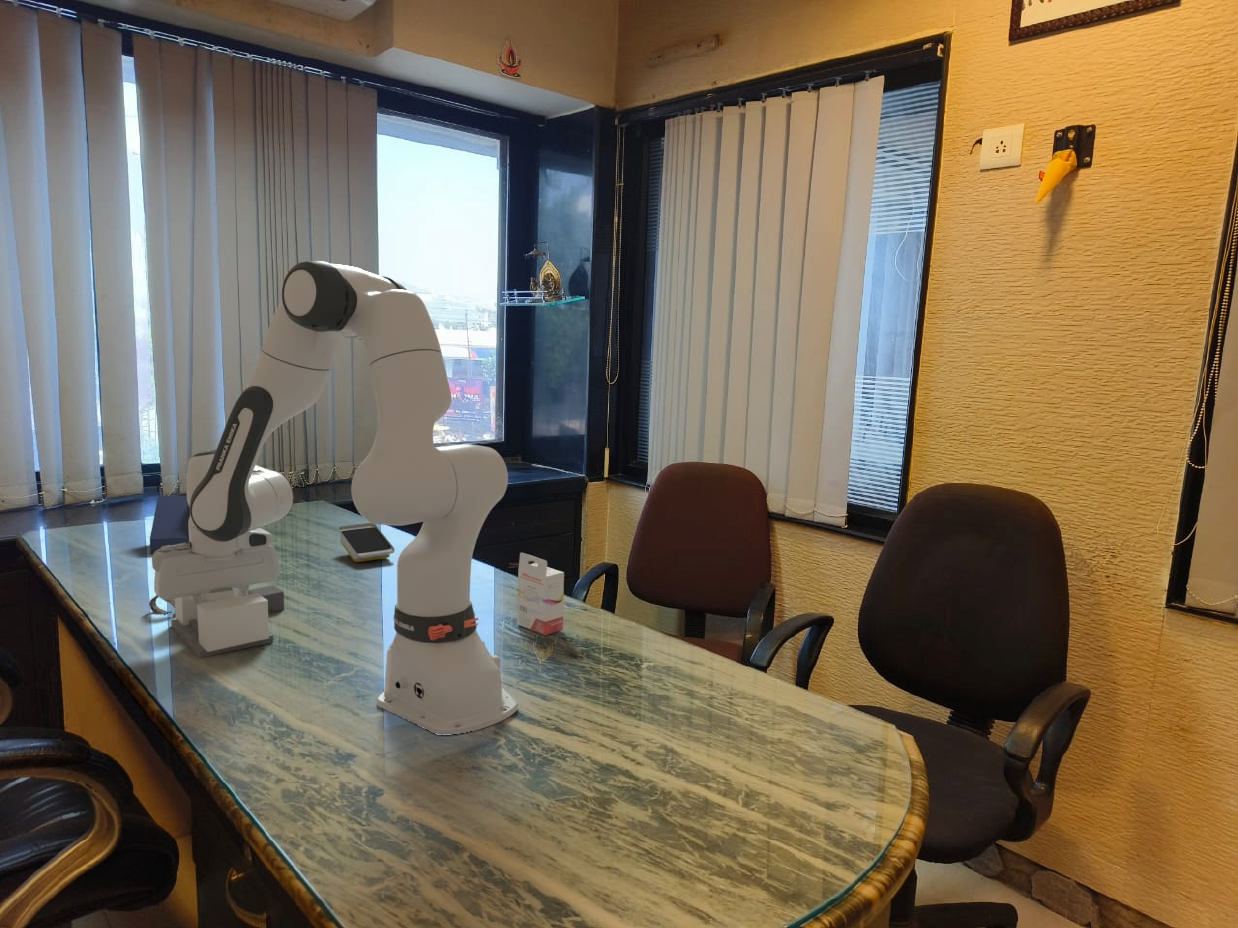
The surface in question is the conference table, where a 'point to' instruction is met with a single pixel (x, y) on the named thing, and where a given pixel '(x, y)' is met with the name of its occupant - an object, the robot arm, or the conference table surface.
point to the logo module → (219, 594)
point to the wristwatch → (158, 610)
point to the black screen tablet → (365, 542)
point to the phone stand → (170, 522)
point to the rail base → (222, 623)
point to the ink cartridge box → (539, 596)
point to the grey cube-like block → (271, 597)
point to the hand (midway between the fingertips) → (220, 612)
